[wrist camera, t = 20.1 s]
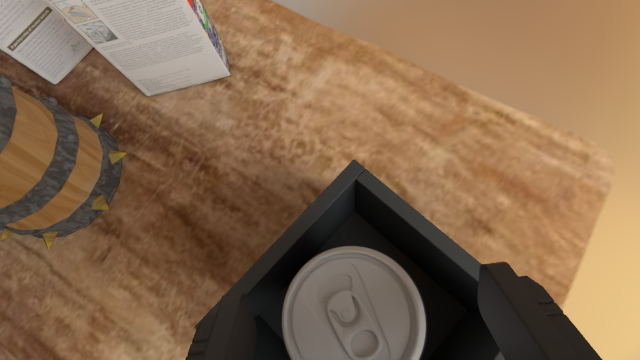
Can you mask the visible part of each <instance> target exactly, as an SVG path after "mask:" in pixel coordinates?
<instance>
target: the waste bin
mask: <svg viewBox="0 0 640 360" xmlns="http://www.w3.org/2000/svg"><path fill="white" fill-rule="evenodd" d="M343 245H360V246H366V247H370V248H374V249H376V250H379V251H381V252H383V253H385V254H387V255H389V256H390V257H392V258H393V259H394V260H396V261H397V262H398V263H399V264H400V265H402V266H403V267H404V268H405V270H406V271H407V272H408V273H409V274H410V276H411V277H412V278H413V280H414V281H415V283H416V285H417V287H418V289H419V291H420V293H421V295H422V298H423V301H424V304H425V308H426V314H427V340H426V345H425V349H424V352H423V355H422V358H421V360H505V358H504V356H503V355H502V353H501V351H500V349H499V347H498V345H497V343H496V342H495V340H494V338H493V336H492V334H491V332H490V331H489V329H488V327H487V325H486V323H485V321H484V319H483V318H482V315H481V313H480V310H479V306H478V300H477V296H478V284H479V271H480V266H481V265H482V264H481V263H480V262H478V261H477V260H476V259H475V258H473V257H472V256H471V255H470V254H469V253H467V252H466V251H465V250H464V249H463V248H461V247H460V246H459V245H458V244H456V243H455V242H454V241H453V240H452V239H450V238H449V237H448V236H447V235H446V234H444V233H443V232H442V231H441V230H439V229H438V228H437V227H436V226H435V225H433V224H432V223H431V222H430V221H429V220H427V219H426V218H425V217H424V216H422V215H421V214H420V213H419V212H418V211H416V210H415V209H414V208H413V207H412V206H410V205H409V204H408V203H407V202H405V201H404V200H403V199H402V198H401V197H399V196H398V195H397V194H396V193H395V192H393V191H392V190H391V189H390V188H388V187H387V186H386V185H385V184H384V183H382V182H381V181H380V180H379V179H378V178H376V177H375V176H374V175H373V174H371V173H370V172H369V171H368V170H367V169H365V168H364V167H363V166H362V165H361V164H359V163H358V162H357V161H356V160H353V161H352V162H351V163H350V164H349V165H348V166H347V167H346V168H345V169H344V170H343V171H342V173H341V174H340V175H339V176H338V177H337V178H336V179H335V180H334V181H333V182H332V183H331V184H330V185H329V186H328V187H327V188H326V189H325V190H324V191H323V193H322V194H321V195H320V196H319V197H318V198H317V199H316V200H315V201H314V202H313V203H312V204H311V205H310V206H309V207H308V208H307V209H306V210H305V211H304V212H303V214H302V215H301V216H300V217H299V218H298V219H297V220H296V221H295V222H294V223H293V224H292V225H291V226H290V227H289V228H288V229H287V230H286V231H285V232H284V234H283V235H282V236H281V237H280V238H279V239H278V240H277V241H276V242H275V243H274V244H273V245H272V246H271V247H270V248H269V249H268V250H267V251H266V252H265V254H264V255H263V256H262V257H261V258H260V259H259V260H258V261H257V262H256V263H255V264H254V265H253V266H252V267H251V268H250V269H249V270H248V271H247V272H246V273H245V275H244V276H243V277H242V278H241V279H240V280H239V281H238V282H237V283H236V284H235V285H234V286H233V287H232V288H231V289H230V290H229V291H228V292H227V293H226V295H232V294H240V293H245V294H246V296H247V298H248V301H249V304H250V307H251V310H252V313H253V316H254V319H255V322H256V327H257V343H256V349H255V355H254V360H290V358H289V356H288V353H287V351H286V348H285V345H284V341H283V336H282V329H281V313H282V306H283V301H284V297H285V294H286V291H287V289H288V287H289V285H290V283H291V281H292V279H293V277H294V276H295V275H296V273H297V272H298V271H299V269H300V268H301V267H302V266H303V265H304V264H305V263H306V262H307V261H308V260H310V259H311V258H312V257H314V256H315V255H317V254H319V253H321V252H323V251H325V250H327V249H330V248H333V247H337V246H343ZM219 303H220V301H219V302H218V303H217V304H216V305H215V306H214V307H213V308H212V309H211V310H210V311H209V312H208V313H215V312H217V309H218V306H219ZM208 313H207V314H208ZM207 314H206V315H207ZM205 317H206V316H205ZM205 317H204V318H205ZM204 318H203V319H204ZM203 319H202V320H203ZM202 320H201V321H200V322H199V323H198V324H197V325H196V326H195V328H196V330H197V327H198V325H199V324H200V323H201V322H202Z"/></svg>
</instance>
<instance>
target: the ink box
mask: <svg viewBox="0 0 640 360" xmlns="http://www.w3.org/2000/svg"><path fill="white" fill-rule="evenodd" d="M46 1H47V2H48V3H49V4H50V5H51V6H52V7H53V8H55V9H56V10H57V11H58V12H59V13H60V14H61V15H62V16H63V17H64V20H65V21H66V22H67V23H68V24H69V25H70V26H71V27H72V28H73V29H74V30H75V31H76V32H78V33H79V34H80V35H81V36H82V37H83V38H84V39H85V40H86V41H87V42H88V43H89V44H91V45H92V46H93V47H94V48H95V49H96V50H97V51H98V52H99V53H100V54H101V55H102V56H104V57H105V58H106V59H107V60H108V61H109V62H110V63H111V64H112V65H113V66H114V67H116V68H117V69H118V70H119V71H120V72H121V73H122V74H123V75H124V76H125V77H127V78H128V79H129V80H130V81H131V82H132V83H133V84H134V85H135V86H136V87H137V88H138V89H139V90H141V91H142V92H143V93H144V94H145V95H146V96H154V95H158V94H163V93H167V92H171V91H175V90H178V89H182V88H186V87H190V86H194V85H198V84H201V83H205V82H209V81H213V80H217V79H220V78H224V77H227V76H231V74H230V70H229V65H228V59H227V54H226V49H225V46H224V44H223V42H222V40H221V38H220V36H219V34H218V32H217V30H216V29H215V27H214V25H213V23H212V21H211V19H210V17H209V15H208V14H207V12H206V10H205V8H204V6H203V4H202V2H201V0H46Z"/></svg>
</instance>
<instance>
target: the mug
mask: <svg viewBox="0 0 640 360" xmlns="http://www.w3.org/2000/svg"><path fill="white" fill-rule="evenodd" d="M11 84H12V82H11V80H10V79H9V78H8V77H6V76H4V75H0V231H1V230H2V229H3V228H4V229H3V233H2V238H1V241H2V240H3V239H5V238H6V237H8V236H10V235H11V234H13V233H17V234H19V235H33V236H35V237H38V238H43V239H44V241H45V243H46V245H47V248H48V250H49V249H50V247H51V245H52V243H53V241H54V239H55V237H63V236H67V235H69V234H71V233H73V232H75V231H77V230H79V229H81V228H83V227H85V226H87V225H89V224H90V223H91V222H92V221H93V220H94V219H95V218H96V217H97V216H98V215H99V214H100V213H101V212H102V211H103V210H109V207H108V204H109V202H110V200H111V199H112V197H113V195H114V193H115V191H116V189H117V187H118V185H119V181H120V173H121V165H122V159H121V158H122V157H123V156H124V155H126V154H127V153H126V152H120V151H119V149H118V146H117V143H116V141H115V140H114V139H113V138H112V137H111V136H110V135H109V134H108V133H107V132H106V131H105V130H104V129H103V128H102V127H100V122H101V118H102V115H103V113H102V114H100V115H98V116H96V117H95V118H93V119H91V120H89V119H88V118H85V117H82V116H79V115H75V114H72V113H69V112H66V111H65V110H64V109H63V108H62V107H61V106H60V105H58V102H57V99H55V98H53V97H46V98H45V99H42V98H38V97H35V96H31V95H28V94H26V93H24V92H22V91H20V90H18V89H16V88H15V87H13V86H11Z"/></svg>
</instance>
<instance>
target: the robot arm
mask: <svg viewBox="0 0 640 360" xmlns="http://www.w3.org/2000/svg"><path fill="white" fill-rule="evenodd" d="M477 300H478V306H479V310H480V313H481V315H482V318H483V319H484V321H485V323H486V325H487V327H488V329H489V331H490V332H491V334H492V336H493V338H494V340H495V342H496V343H497V345H498V347H499V349H500V351H501V353H502V355H503V356H504V358H505V360H602V359H601V358H600V356H599V355H598V354H597V353H596V351H595V350H594V349H593V348H592V347H591V346H590V344H589V343H588V342H587V340H586V339H585V338H584V337H583V335H582V334H581V333H580V332H579V331H578V329H577V328H576V327H575V326H574V324H573V323H572V322H571V321H570V320H569V318H568V317H567V316H566V315H564V314H563V311H562V310H561V309H560V307H559V306H558V305H557V304H556V303H554V300H553V299H552V298H551V296H550V295H549V294H548V293H547V291H546V290H545V289H544V288H543V287H542V286H541V285H539V284H538V283H536V282H535V281H534V280H532V279H531V278H529V277H528V276H521V277H518V276H517V275H516V273H515V272H514V271H513V269H512V268H511V267H510V265H509V264H508V263H506V262H498V263H490V264H482V265H481V266H480V271H479V284H478V296H477ZM256 343H257V327H256V322H255V319H254V316H253V313H252V310H251V307H250V304H249V301H248V298H247V296H246V294H245V293H240V294H232V295H224V296H222V298H221V300H220V303H219V306H218V309H217V312H215V313H208V314H207V315H206V317H205V318H204V319H203V320H202V322H201V323H200V324H199V325H198V327H197V330H196V332H195V335H194V338H193V341H192V344H191V346H190V349H189V352H188V357H186V360H254V355H255V349H256Z"/></svg>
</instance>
